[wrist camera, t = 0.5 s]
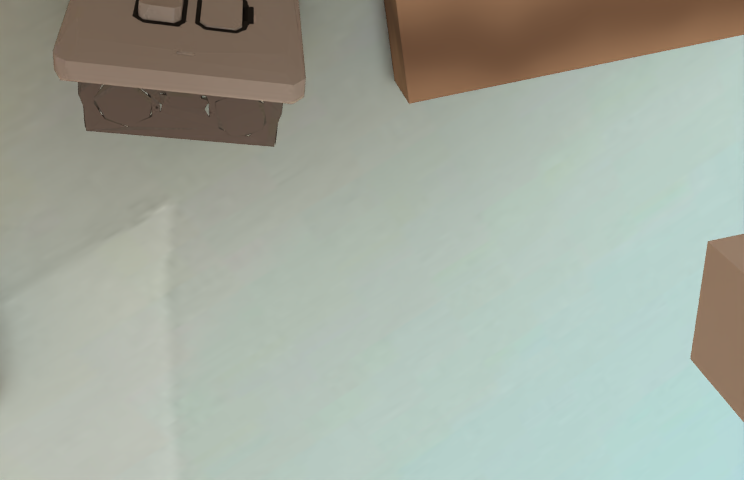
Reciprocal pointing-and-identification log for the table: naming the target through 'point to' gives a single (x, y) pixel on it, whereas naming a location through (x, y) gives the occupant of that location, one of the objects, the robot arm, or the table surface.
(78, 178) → the table surface
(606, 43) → the socket base
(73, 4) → the electrical switch
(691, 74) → the table surface
